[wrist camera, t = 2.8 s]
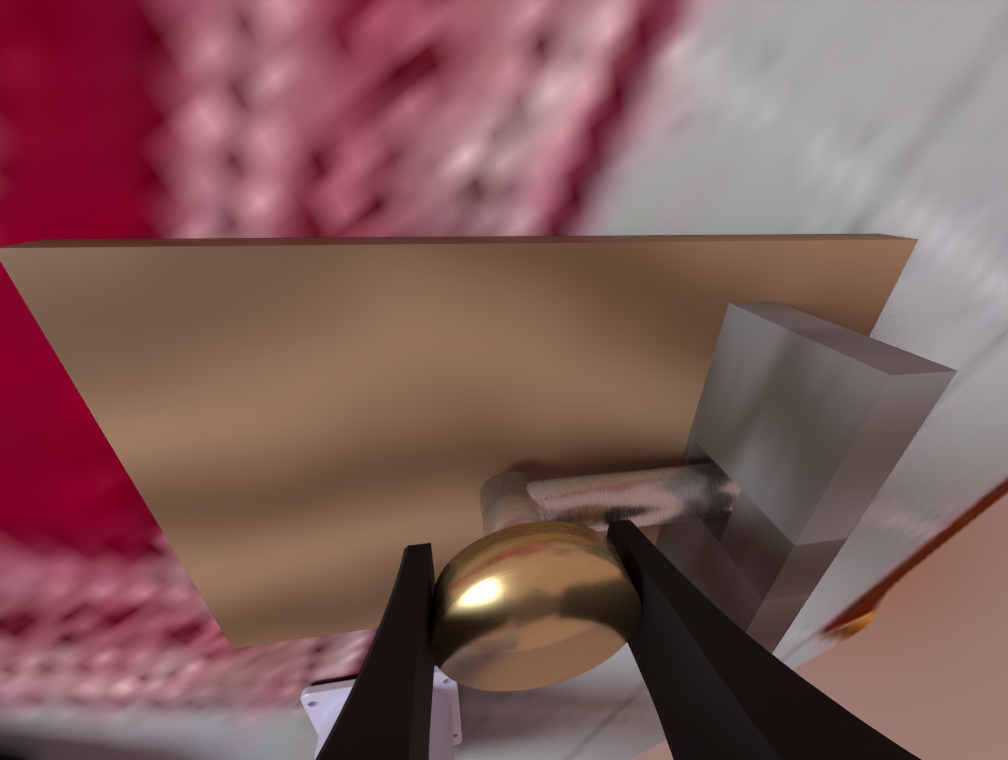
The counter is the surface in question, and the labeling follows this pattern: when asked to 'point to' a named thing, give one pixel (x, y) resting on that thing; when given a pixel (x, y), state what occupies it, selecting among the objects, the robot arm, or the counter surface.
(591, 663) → the brass knob with shaft
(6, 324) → the counter surface
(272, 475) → the wooden board
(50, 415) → the counter surface
